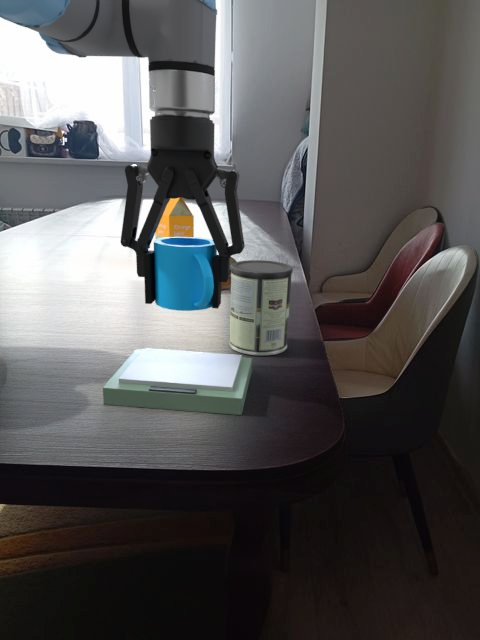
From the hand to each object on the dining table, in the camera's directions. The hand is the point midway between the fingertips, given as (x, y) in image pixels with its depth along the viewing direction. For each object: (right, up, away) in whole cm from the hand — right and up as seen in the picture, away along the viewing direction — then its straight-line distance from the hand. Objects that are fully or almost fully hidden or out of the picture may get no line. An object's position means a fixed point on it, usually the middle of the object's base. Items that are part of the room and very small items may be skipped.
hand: (183, 303), depth 68 cm
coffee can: (+10, -6, +22) cm, 24 cm away
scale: (-1, -11, +4) cm, 12 cm away
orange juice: (-15, +18, +80) cm, 83 cm away
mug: (+1, -1, 0) cm, 1 cm away
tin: (-3, +8, +57) cm, 58 cm away
